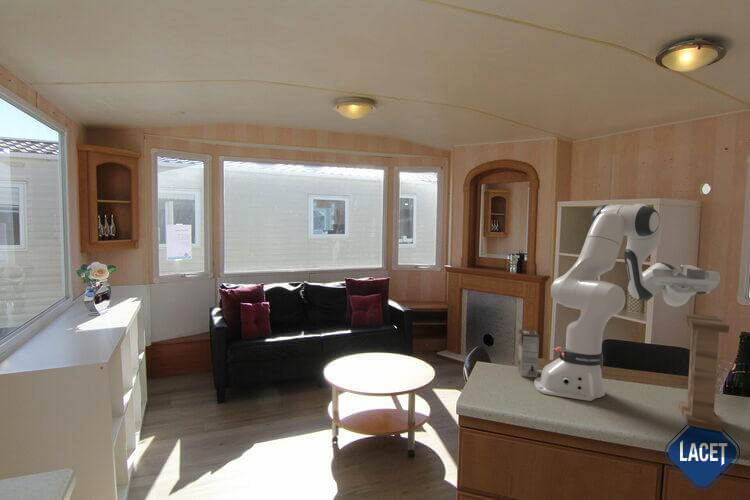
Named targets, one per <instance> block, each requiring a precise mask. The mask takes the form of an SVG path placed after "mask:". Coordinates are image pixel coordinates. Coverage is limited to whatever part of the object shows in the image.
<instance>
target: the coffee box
mask: <svg viewBox="0 0 750 500" xmlns="http://www.w3.org/2000/svg"><path fill="white" fill-rule="evenodd" d="M518 332H519V335H518V361H517V366H518V367H517V368H518V373H519V375H520V377H529V378H530V377H531V378H538V376H539V375H538V374H539V373H538V371H539V352H540V351H539V348H540V345H539V344H540V335H539V333H538V332H537V329H523V328H520V329H519V331H518Z"/></svg>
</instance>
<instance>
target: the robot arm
mask: <svg viewBox="0 0 750 500" xmlns="http://www.w3.org/2000/svg"><path fill="white" fill-rule="evenodd" d="M660 220H661V219H660V214H659V211H657V210H656V209H655V208H654V207H651V206H648V205H647V204H644V203H636V204H624V203H623V204H603V205H602V204H601V205H598V206H597V207H596V208H595V209H594V210H593V211H592V214H591V217H590V223H591V225H590V228H589V230H588V232H587V235H586V238H585V240H584V244H583V246H582V248H581V251H580V254H579V256H578V258H577V260H576V261H575V263H574V264H573V266H572V267H570V269H569V270H568V271H567V272H566V273H564V274H562V275H561V276H560V277H559V276H558V278H556V279H554V280H553V282H552V284H551V286H550V296H551V299H552V300H553V301H554V302H555V303H557V304H559V305H561V306H563V307H566V308H570V309H575V310H580V315H579V317H578V319H577V320H573V321H572V322H570V323H569V324H568V325H567V326H566V332H565V334H566V337H565V347H564V348H562V347H561V346H557V347H556V348H555V351H556V352H557V353H558V356H559V357H558V358H556V359H555V360H553V361H551V362H549V363H548V364H546V365H545V366H544V367H543V369H542V371H541V375H540V377H539V376H537V377H535V378H534V382H533V384H534V387H535V389H536V390H537V391H538V392H540V393H542V394H545V395H549V396H556V397H563V398H569V399H575V400H581V401H589V402H591V401H593V400H595V399H599V398H602V397H604V396H605V395H606V393H605V390H604V384H603V378H602V369H603V365H604V355H603V352H602V344H603V337H604V330H605V327H606V325H607V323H608V322H609V320H610V319H611V318H612V317H614V316H616V315H618V314H619V313H620V312H621V311H622V310H623V309H624V307H625V305H626V294H625V291H624V289H623V288H622V287H621V286H620V285H618V284H614V283H612V282H609V281H605V280H598V278H600V277H601V276H602V275H603V274H605V273H607V272H610V271H612V269H613V268H614V267H615V265H616V261H617V258H618V257H619V253H620V250H621V247H622V244H623V239H624V236H627V244H626V247H625V250H624V252H623V259H624V266H625V270H626V278H627V282H626V288H627V292H628V293H629V295H630V296H631V297H632V298H633V299H635V300H636V301H643V302H647V301H649V300H651V299H652V298H653V297H654V296H656V295H657V294H658V293H660V292H662V298H663V301H664V302H665V303H666V304H667V305H668V306H670V307H682V306H683V305H685V304H686V303H687V302H688V301H689V299H690V298H691V296H695V295H707V294H710V293H711V291H712V290H714V289H715V288H717V286H718V285H719V284H720V283H721V275H720V272H719V271H711V270H706V276H705V279H704V280H701V279H689V278H686V276H685V275H683V274H682V272H683V267H681V266H677V267H676V268H675V267H674V266H673V265H671V264H669V263H665V262H660V261H659V262H656V263H654V264H653V265H652V266H650V267H648V268H647V269H646V270H643V268H642V267H643V265H644V262H645V261H646V259H648V258H649V256H650V255H651V254H652V253H653V252H654V251H655V250H656V249H657V248H658V247H659V246H660V244H661V242H662V239H663V238H662V235H663V234H662V229H661V226H660ZM697 268H699V267H697Z"/></svg>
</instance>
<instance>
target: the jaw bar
mask: <svg viewBox="0 0 750 500" xmlns="http://www.w3.org/2000/svg"><path fill="white" fill-rule="evenodd" d="M680 267H683V272H682V274H683V275H685V276H686V278H689V279H701V280H704V279H705V276H706V271H707V270H706V269H705V268H704V269H702V268H699V267H698V268H697V267H696V266H693V265H691V264H680Z"/></svg>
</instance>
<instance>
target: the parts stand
mask: <svg viewBox="0 0 750 500" xmlns="http://www.w3.org/2000/svg"><path fill="white" fill-rule="evenodd" d="M683 315H684V316H683V317H684V318H683V321H685V323H686V324H687V325H689V327H690V328H691V332H690V345H689V346H690V347H689V362H688V363H689V364H688V365H689V366H688V382H687V383H688V384H687V398H686V401H683V400H682V401H681V400H680V401H678V403H679V404H678V408H679V410H680V413H681V415H682V417H683V419H684V421H685V423H686V425H687V427H688V426H689V427H692V428H700V429H705V430H709V431H716V432H719V433H720V432H721V433H723V427H724V426H723V423H722V421H721V420H720V418H719V416H717V414H716V412H715V401H716V384H717V369H718V368H717V367H718V355H719V352H718V351H719V339H720V337H719V335H720V333H724V334H729V332H730V326H729V325H728V324H727V323H726V322H725V321H723V320H722V319H720V317H718V316H714V315H704V314H703V315H702V314H694V313H693V314H691V313H684V314H683Z"/></svg>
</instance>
